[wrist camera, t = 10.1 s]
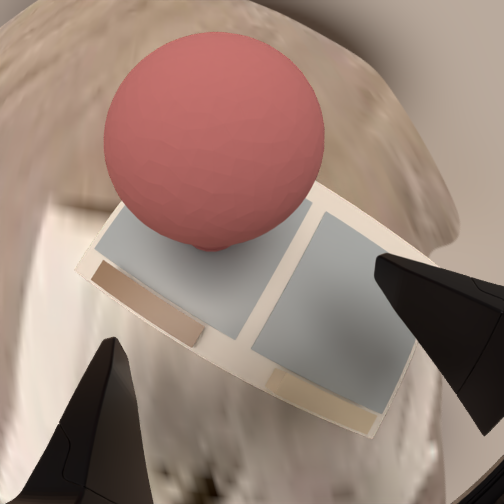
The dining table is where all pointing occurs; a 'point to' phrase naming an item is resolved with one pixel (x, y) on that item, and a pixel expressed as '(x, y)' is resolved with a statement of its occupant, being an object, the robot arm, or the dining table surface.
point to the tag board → (274, 304)
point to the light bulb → (214, 139)
